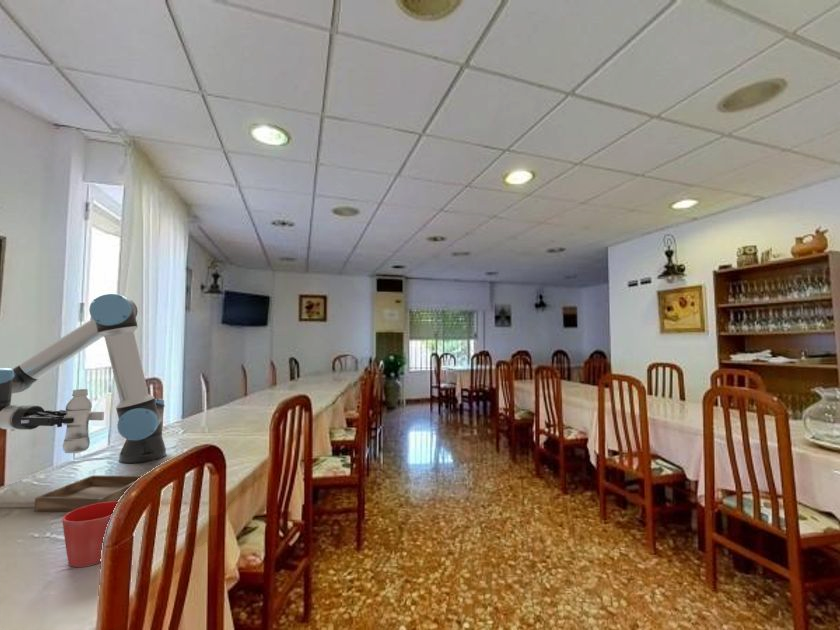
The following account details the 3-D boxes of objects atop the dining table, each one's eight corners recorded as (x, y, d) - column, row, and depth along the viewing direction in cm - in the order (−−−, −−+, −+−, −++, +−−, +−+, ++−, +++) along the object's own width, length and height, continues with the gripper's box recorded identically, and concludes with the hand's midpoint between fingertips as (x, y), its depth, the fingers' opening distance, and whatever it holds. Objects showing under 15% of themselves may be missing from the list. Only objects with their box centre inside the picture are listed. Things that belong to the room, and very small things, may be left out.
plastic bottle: (73, 456, 118) (78, 391, 119) (56, 454, 119) (61, 390, 121) (94, 450, 124) (99, 389, 126) (78, 449, 125) (82, 388, 127)
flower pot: (85, 545, 86) (89, 500, 87) (136, 543, 87) (139, 500, 88) (43, 573, 75) (47, 522, 76) (101, 571, 76) (105, 521, 77)
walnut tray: (91, 486, 120) (92, 475, 120) (148, 487, 120) (148, 476, 120) (33, 511, 102) (35, 498, 102) (100, 512, 102) (101, 499, 102)
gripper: (50, 423, 131) (116, 423, 132) (-12, 436, 113) (66, 437, 113) (51, 401, 132) (118, 401, 132) (-10, 410, 113) (68, 411, 113)
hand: (94, 418), depth 122 cm, fingers closed on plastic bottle, 6 cm apart
